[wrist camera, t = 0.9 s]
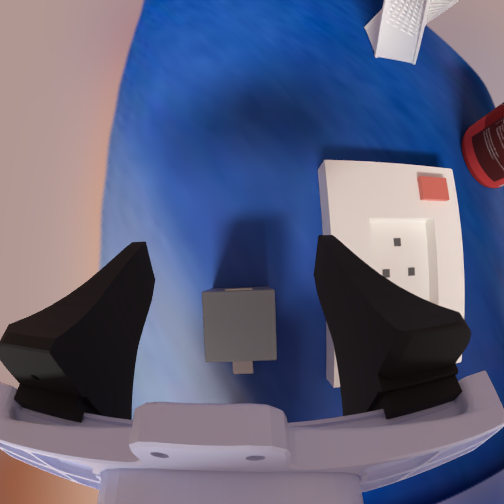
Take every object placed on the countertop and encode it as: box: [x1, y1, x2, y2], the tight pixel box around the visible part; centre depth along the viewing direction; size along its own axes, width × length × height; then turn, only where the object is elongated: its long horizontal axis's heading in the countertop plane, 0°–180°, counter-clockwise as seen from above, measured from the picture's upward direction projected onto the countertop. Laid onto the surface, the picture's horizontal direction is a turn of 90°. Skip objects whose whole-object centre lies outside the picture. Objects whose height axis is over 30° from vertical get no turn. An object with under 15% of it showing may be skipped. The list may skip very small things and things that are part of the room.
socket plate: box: [318, 160, 464, 388], centre depth 24 cm, size 18×13×3 cm
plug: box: [202, 286, 277, 374], centre depth 22 cm, size 7×4×6 cm
